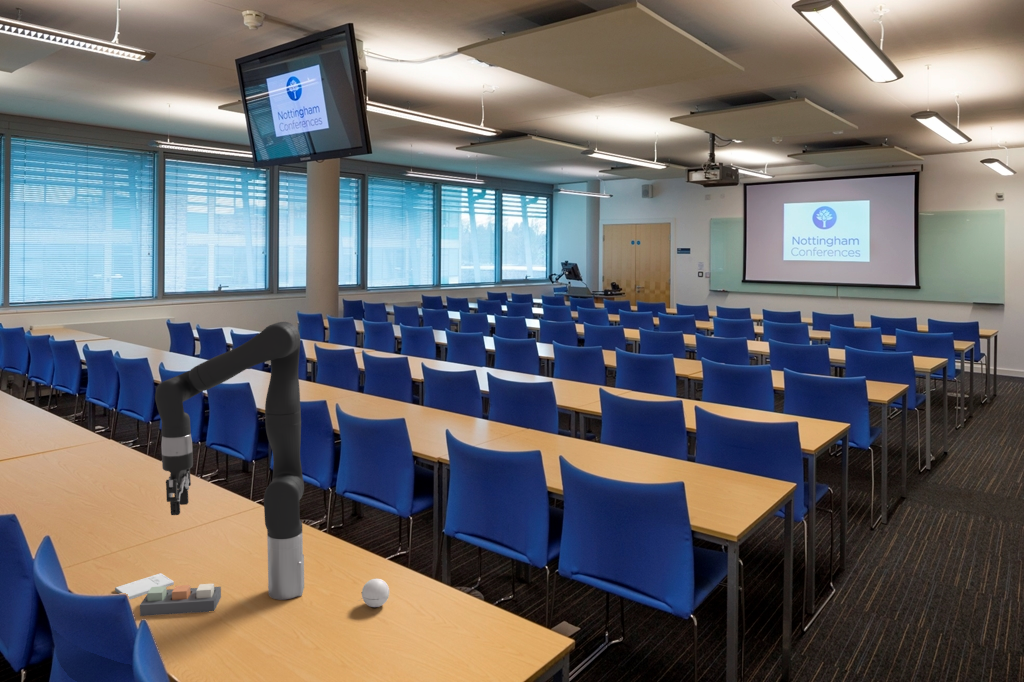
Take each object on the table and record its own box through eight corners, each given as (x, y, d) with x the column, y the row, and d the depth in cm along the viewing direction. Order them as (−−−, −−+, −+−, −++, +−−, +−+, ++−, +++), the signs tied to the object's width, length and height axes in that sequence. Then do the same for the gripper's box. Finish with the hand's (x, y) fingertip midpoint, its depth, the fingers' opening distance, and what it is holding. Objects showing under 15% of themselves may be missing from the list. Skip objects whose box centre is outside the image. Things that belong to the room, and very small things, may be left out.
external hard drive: (115, 592, 195) (160, 577, 204) (127, 602, 190) (174, 586, 199) (114, 587, 194) (160, 572, 204) (127, 596, 189) (173, 580, 199)
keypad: (221, 596, 192) (220, 586, 192) (214, 611, 185) (213, 600, 184) (150, 601, 189) (149, 590, 189) (140, 616, 181) (139, 605, 181)
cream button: (214, 595, 190) (213, 583, 189) (211, 601, 186) (210, 589, 186) (200, 596, 189) (199, 584, 189) (196, 602, 186) (196, 590, 185)
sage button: (166, 598, 188) (166, 586, 187) (162, 604, 184) (162, 592, 184) (152, 599, 187) (151, 587, 187) (147, 605, 184) (147, 593, 183)
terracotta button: (190, 596, 189) (190, 584, 188) (187, 603, 185) (186, 591, 185) (176, 597, 188) (175, 585, 188) (172, 604, 185) (171, 592, 184)
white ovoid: (379, 596, 195) (379, 571, 194) (394, 606, 190) (394, 580, 189) (347, 608, 188) (347, 582, 187) (362, 619, 183) (362, 592, 182)
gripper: (184, 458, 184) (187, 518, 186) (198, 443, 198) (201, 499, 200) (153, 459, 182) (156, 519, 184) (170, 444, 196) (172, 501, 198)
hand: (179, 509), depth 192 cm, fingers open, 7 cm apart
